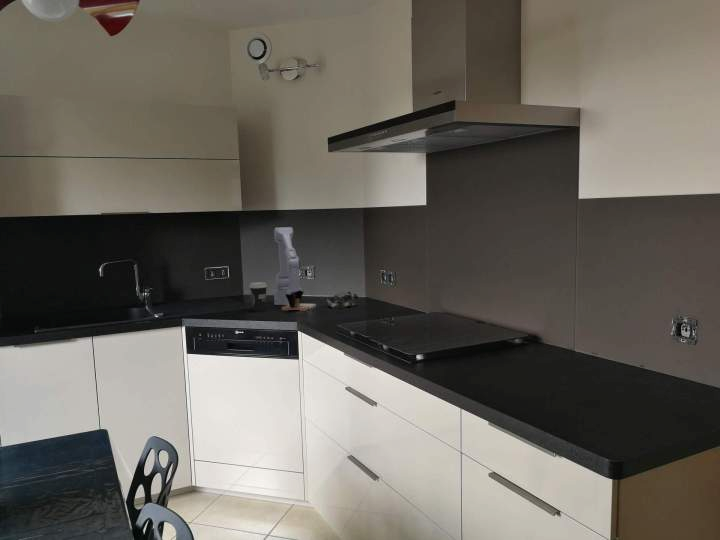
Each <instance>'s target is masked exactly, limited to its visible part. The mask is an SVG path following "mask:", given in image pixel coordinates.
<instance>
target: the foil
mask: <svg viewBox="0 0 720 540" xmlns="http://www.w3.org/2000/svg"><path fill="white" fill-rule="evenodd" d="M339 296H340V297H339ZM358 300H359V296H358V294H356V293H351V291H347V292H344V291H342V294H340V293H339V294H335V295H333V297H331V298H326V302H327V303H328V305H329V307H330V308H331V309H332V308H337V309H344V308H345V307H348V306H349V307H352V308H353V306H356V302H355V301H358Z"/></svg>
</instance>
